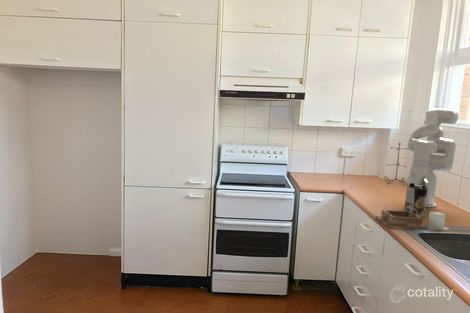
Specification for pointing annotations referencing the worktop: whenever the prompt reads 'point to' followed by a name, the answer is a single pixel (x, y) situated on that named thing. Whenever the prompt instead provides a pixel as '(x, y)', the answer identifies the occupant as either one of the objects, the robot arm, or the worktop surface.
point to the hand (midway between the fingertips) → (416, 194)
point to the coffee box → (415, 201)
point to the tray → (401, 220)
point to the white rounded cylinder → (436, 220)
